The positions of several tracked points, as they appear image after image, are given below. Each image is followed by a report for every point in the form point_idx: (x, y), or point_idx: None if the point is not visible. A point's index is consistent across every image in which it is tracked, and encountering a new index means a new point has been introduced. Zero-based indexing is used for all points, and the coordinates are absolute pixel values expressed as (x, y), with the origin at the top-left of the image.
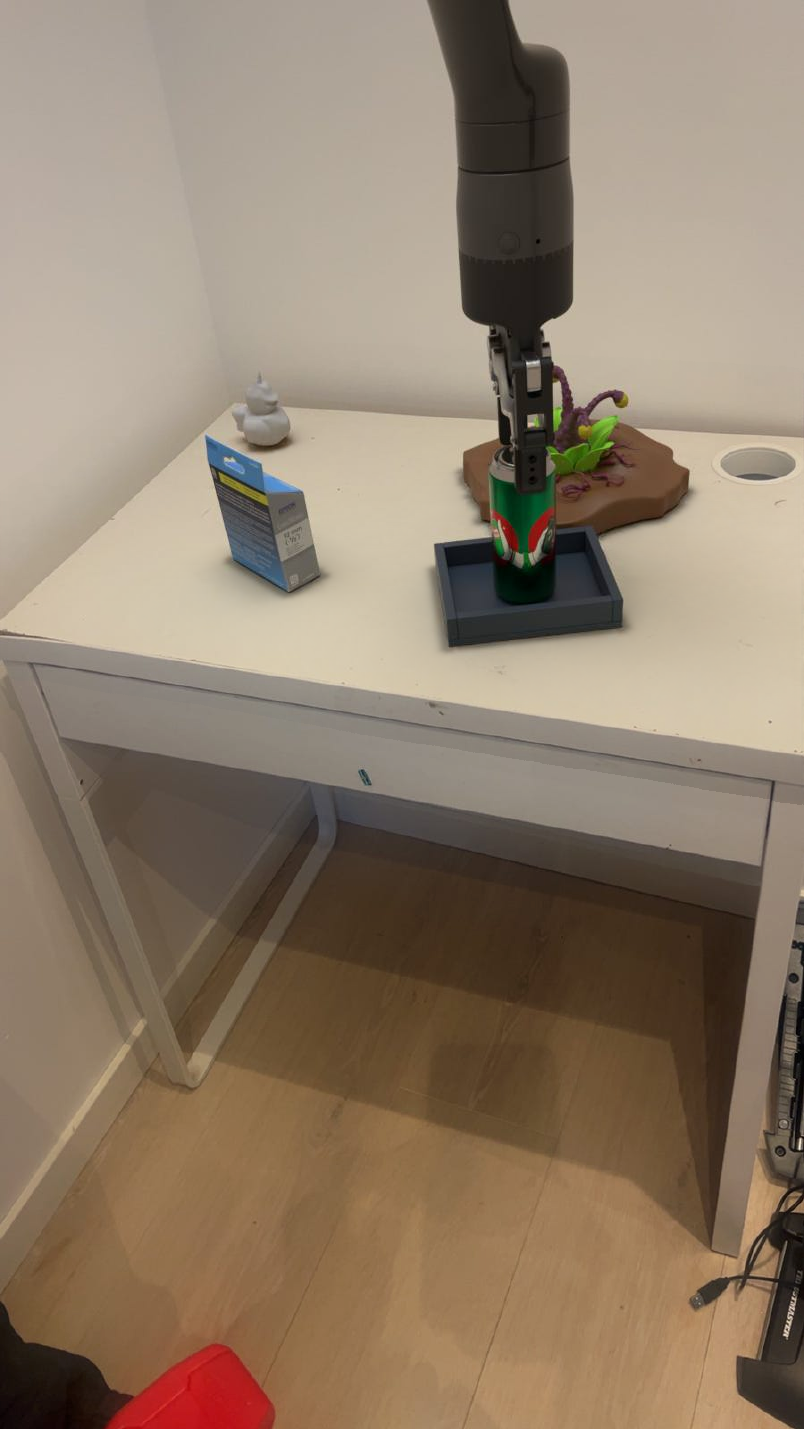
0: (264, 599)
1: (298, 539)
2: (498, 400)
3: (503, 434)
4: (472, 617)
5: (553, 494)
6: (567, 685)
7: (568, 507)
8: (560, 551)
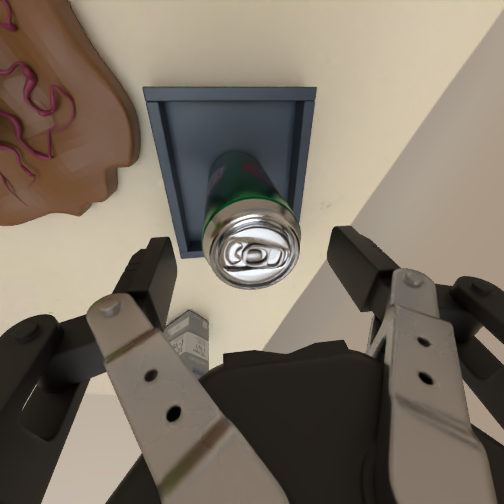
0: (213, 330)
1: (197, 344)
2: (163, 331)
3: (174, 277)
4: None
5: (272, 189)
6: (361, 159)
7: (88, 112)
8: (169, 134)
